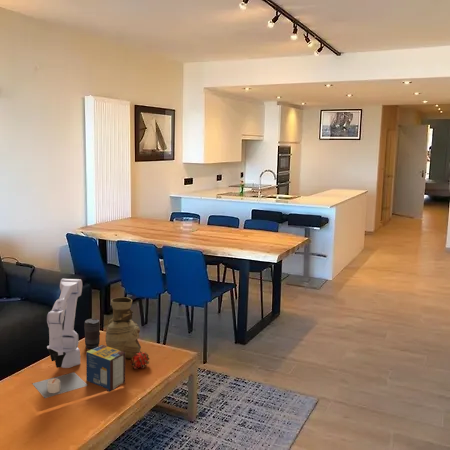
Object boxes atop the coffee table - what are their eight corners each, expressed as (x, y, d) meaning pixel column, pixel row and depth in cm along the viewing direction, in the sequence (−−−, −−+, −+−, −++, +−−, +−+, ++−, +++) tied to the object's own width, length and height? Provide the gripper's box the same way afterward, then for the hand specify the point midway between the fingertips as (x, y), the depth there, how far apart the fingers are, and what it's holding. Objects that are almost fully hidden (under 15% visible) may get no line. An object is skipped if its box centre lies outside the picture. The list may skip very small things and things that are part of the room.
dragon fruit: (149, 365, 254) (134, 377, 245) (138, 353, 256) (122, 365, 246) (156, 356, 250) (140, 368, 240) (144, 344, 252) (129, 355, 242)
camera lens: (88, 343, 275) (88, 317, 272) (102, 344, 273) (102, 319, 271) (82, 349, 267) (81, 322, 264) (96, 350, 266) (96, 324, 263)
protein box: (101, 374, 240) (102, 344, 237) (125, 383, 232) (126, 352, 229) (85, 382, 231) (85, 351, 228) (109, 392, 223) (110, 360, 221)
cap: (49, 387, 223) (49, 377, 222) (61, 387, 223) (61, 378, 223) (46, 393, 218) (46, 383, 217) (58, 393, 218) (57, 383, 217)
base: (74, 374, 239) (74, 365, 238) (88, 387, 226) (88, 378, 226) (32, 385, 226) (32, 376, 225) (44, 400, 214) (44, 390, 213)
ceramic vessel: (151, 350, 269) (152, 297, 264) (126, 364, 251) (126, 308, 246) (123, 342, 278) (124, 291, 273) (97, 355, 259) (97, 301, 254)
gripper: (42, 332, 229) (43, 359, 232) (51, 343, 218) (52, 372, 220) (58, 329, 233) (58, 356, 236) (67, 340, 222) (67, 368, 224)
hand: (56, 363), depth 228 cm, fingers open, 7 cm apart
